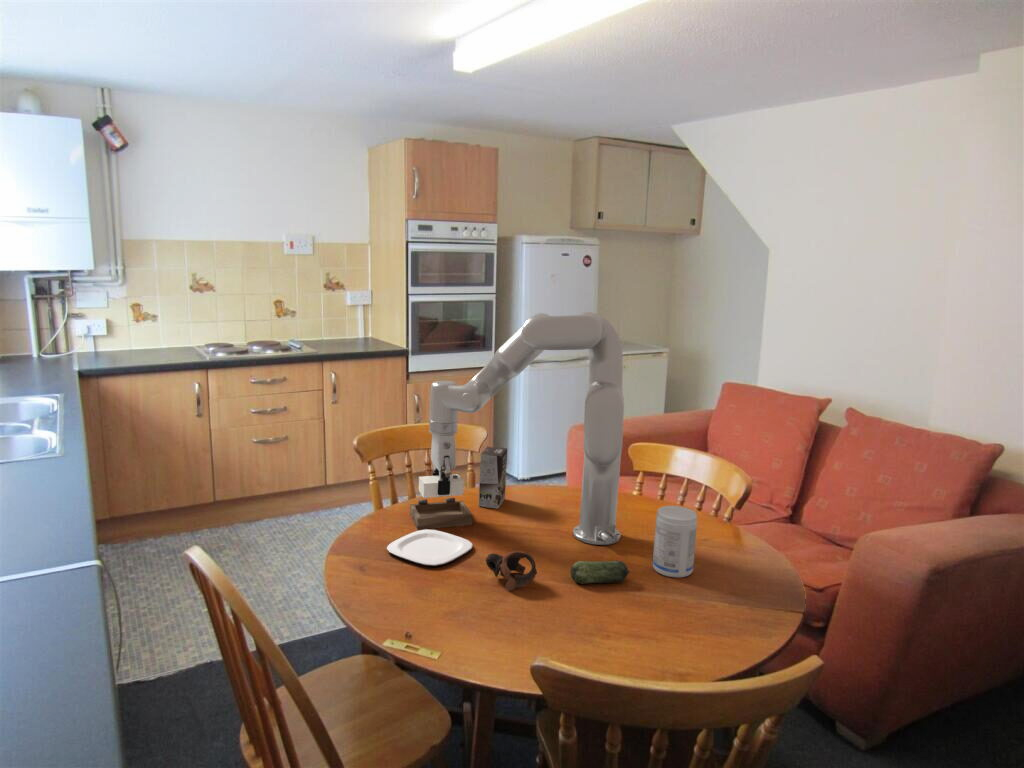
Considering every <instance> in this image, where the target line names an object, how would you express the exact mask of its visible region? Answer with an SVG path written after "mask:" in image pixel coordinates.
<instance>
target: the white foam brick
mask: <svg viewBox="0 0 1024 768" xmlns="http://www.w3.org/2000/svg"><path fill="white" fill-rule="evenodd" d="M438 480H439V475H438V476H433V475H426V476H425V475H424V476H422V475H421V476H418V491H419V492H418V493H420V495H421V497H422V498H423V499H427V498H442V497H454V496H455V497H457V496H464V486H465V485H464V483H465V481H464V480H463V478H462V477H461V475H459V474H457V473H456V474H450V494H449V495H438Z"/></svg>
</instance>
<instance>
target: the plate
mask: <svg viewBox="0 0 1024 768" xmlns="http://www.w3.org/2000/svg"><path fill="white" fill-rule="evenodd" d="M473 546H474V544H473V543H472V542H471V541H470V540H469V539H466V538H463V537H461V536H457V535H455V534H452V533H449V532H444V531H441V530H437V529H419V530H415V531H413V532H409V533H408V534H406V535H403V536H402V537H400V538H397V539H396V540H393V541H392V542H391V543H389V544H388V545H387V547H386V550H387V552H389V553H390V554H391V555H394V556H396V557H398V558H400V559H403V560H406V561H409V562H412V563H415V564H418V565H422V566H427V567H429V566H430V567H437V566H442V565H446V564H448V563H451V562H453V561H455V560H457V559H459V558H460V557H462V556H464V555H466V554H467V553H468V552H469V551H471V550H472V549H473Z"/></svg>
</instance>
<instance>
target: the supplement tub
mask: <svg viewBox="0 0 1024 768" xmlns="http://www.w3.org/2000/svg"><path fill="white" fill-rule="evenodd" d="M697 528H698V514H697V512H695V511H694V510H692V509H690V508H688V507H684V506H680V505H679V506H678V505H666V506H661V507H659V508H658V509H657V511H656V516H655V528H654V541H653V542H654V543H653V555H652V556H653V557H652V568H653V569H654V570H655V572H657V573H658V574H660V575H663V576H665V577H669V578H679V579H680V578H686V577H688V576H690V575H691V574H692V573H693V571H694V563H695V551H696V543H697V541H696V539H697Z"/></svg>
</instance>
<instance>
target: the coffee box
mask: <svg viewBox="0 0 1024 768" xmlns="http://www.w3.org/2000/svg"><path fill="white" fill-rule="evenodd" d="M507 458H508V448H507V447H497V446H494V447H492V446H487V447H485V449H484V450H483V451H482V452H481V453H480V467H479V486H478V488H479V489H478V490H479V491H478V507H480V506H481V508H482V507H483V508H489V509H496V510H497V509H500V507H501V505H502V504H503V502H504V501H505V500H506V489H507V488H506V486H507V485H506V484H507V483H506V482H507V481H506V480H507V462H508V461H507V460H508V459H507Z"/></svg>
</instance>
